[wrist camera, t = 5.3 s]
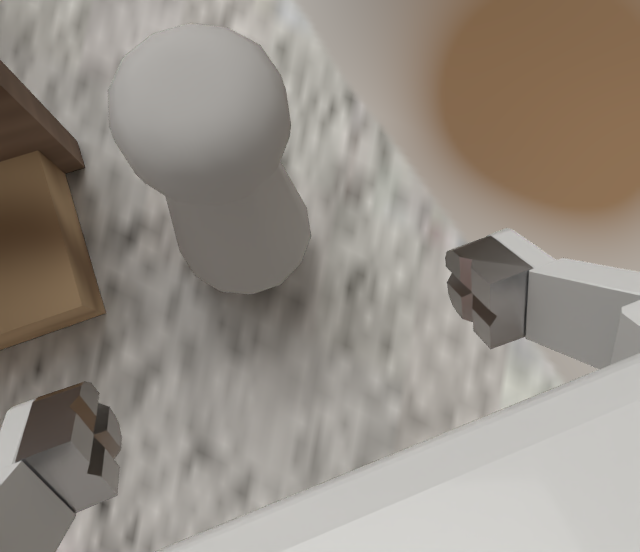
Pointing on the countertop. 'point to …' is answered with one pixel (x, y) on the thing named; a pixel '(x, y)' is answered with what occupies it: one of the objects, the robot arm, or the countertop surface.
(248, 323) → the countertop surface
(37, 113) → the cleat board
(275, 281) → the salt shaker
